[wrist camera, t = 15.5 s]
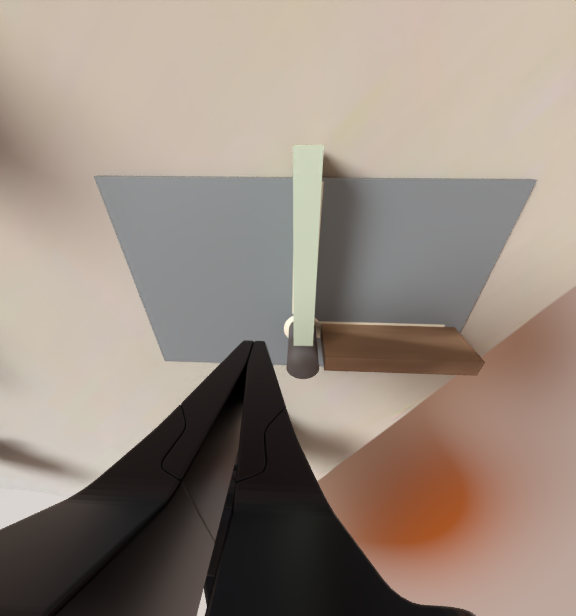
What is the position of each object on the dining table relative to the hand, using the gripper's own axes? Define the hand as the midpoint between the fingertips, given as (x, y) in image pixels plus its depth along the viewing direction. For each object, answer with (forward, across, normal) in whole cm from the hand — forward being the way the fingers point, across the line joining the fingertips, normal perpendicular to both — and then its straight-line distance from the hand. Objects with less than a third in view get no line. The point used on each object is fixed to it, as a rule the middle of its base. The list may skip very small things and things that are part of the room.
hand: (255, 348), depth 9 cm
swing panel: (+11, -2, 0) cm, 12 cm away
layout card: (+12, -2, +4) cm, 13 cm away
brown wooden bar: (+12, -9, +8) cm, 17 cm away
